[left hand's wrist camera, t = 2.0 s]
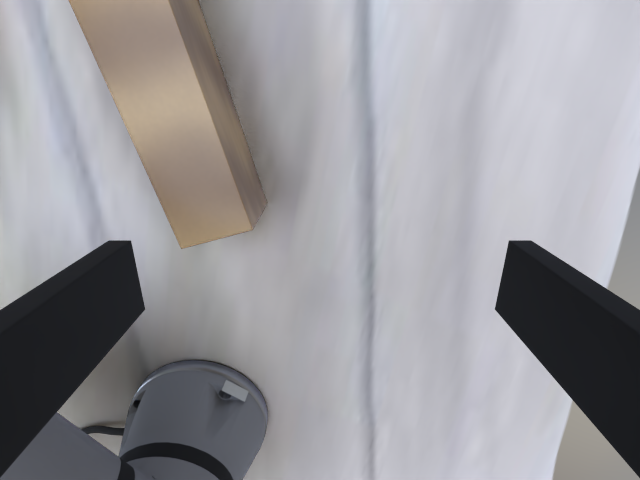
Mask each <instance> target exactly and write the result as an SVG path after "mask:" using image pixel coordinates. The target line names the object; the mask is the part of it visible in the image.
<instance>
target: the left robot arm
mask: <svg viewBox="0 0 640 480" xmlns="http://www.w3.org/2000/svg"><path fill="white" fill-rule="evenodd" d="M144 310H145V307H144V302H143V297H142V292H141V287H140V282H139V278H138V273H137V268H136V263H135V258H134V253H133V248H132V244H131V241H108V242H106V243H104V244H103V245H101V246H100V247H98V248H97V249H95V250H93V251H92V252H90V253H89V254H87V255H86V256H84V257H83V258H81V259H79V260H78V261H76V262H75V263H73V264H72V265H70V266H68V267H67V268H65V269H64V270H62V271H61V272H59V273H58V274H56V275H54V276H53V277H51V278H50V279H48V280H47V281H45V282H43V283H42V284H40V285H39V286H37V287H36V288H34V289H33V290H31V291H29V292H28V293H26V294H25V295H23V296H22V297H20V298H18V299H17V300H15V301H14V302H12V303H11V304H9V305H8V306H6V307H4V308H3V309H1V310H0V480H243V478H244V476H245V474H246V473H247V471H248V469H249V467H250V465H251V464H252V462H253V460H254V458H255V456H256V454H257V453H258V451H259V449H260V447H261V445H262V442H263V440H264V437H265V433H266V427H267V421H268V411H267V406H266V403H265V400H264V398H263V396H262V395H261V393H260V391H259V390H258V389H257V388H256V386H255V385H254V384H253V383H252V382H251V381H250V380H248V379H247V378H246V377H245V376H243V375H242V374H240V373H238V372H237V371H235V370H233V369H231V368H229V367H226V366H224V365H220V364H217V363H213V362H208V361H198V360H189V361H180V362H175V363H171V364H168V365H166V366H163V367H161V368H159V369H157V370H156V371H154V372H153V373H152V374H150V375H149V376H148V377H147V378H146V379H145V380H144V382H143V383H142V385H141V386H140V388H139V389H138V391H137V392H136V394H135V396H134V397H133V400H132V402H131V405H130V408H129V411H128V416H127V420H126V425H125V428H112V427H106V426H92V427H88V428H85V429H82V430H81V429H79V428H78V427H77V426H75V425H74V424H72V423H71V422H70V421H68V420H67V419H65V418H64V417H63V416H61V415H60V414H59V413H57V411H58V410H59V409H60V408H61V407H62V405H63V404H64V403H65V402H66V401H67V400H68V398H69V397H70V396H71V395H72V394H73V393H74V391H75V390H76V389H77V388H78V387H79V386H80V384H81V383H82V382H83V381H84V380H85V379H86V377H87V376H88V375H89V374H90V373H91V372H92V370H93V369H94V368H95V367H96V366H97V365H98V363H99V362H100V361H101V360H102V359H103V358H104V356H105V355H106V354H107V353H108V352H109V351H110V349H111V348H112V347H113V346H114V345H115V344H116V342H117V341H118V340H119V339H120V338H121V337H122V336H123V334H124V333H125V332H126V331H127V330H128V329H129V327H130V326H131V325H132V324H133V323H134V322H135V320H136V319H137V318H138V317H139V316H140V315H141V313H142V312H143V311H144ZM495 310H496V311H497V312H498V313H499V315H500V316H501V317H502V318H503V319H504V320H505V322H506V323H507V324H508V325H509V326H510V327H511V329H512V330H513V331H514V332H515V333H516V334H517V336H518V337H519V338H520V339H521V340H522V341H523V342H524V344H525V345H526V346H527V347H528V348H529V349H530V351H531V352H532V353H533V354H534V355H535V356H536V358H537V359H538V360H539V361H540V362H541V363H542V365H543V366H544V367H545V368H546V369H547V370H548V372H549V373H550V374H551V375H552V376H553V377H554V379H555V380H556V381H557V382H558V383H559V384H560V386H561V387H562V388H563V389H564V390H565V391H566V393H567V394H568V395H569V396H570V397H571V398H572V400H573V401H574V402H575V403H576V404H577V405H578V407H579V408H580V409H581V410H582V411H583V412H584V414H585V415H586V416H587V417H588V418H589V419H590V420H591V422H592V423H593V424H594V425H595V426H596V427H597V429H598V430H599V431H600V432H601V433H602V434H603V436H604V437H605V438H606V439H607V440H608V441H609V443H610V444H611V445H612V446H613V447H614V448H615V450H616V451H617V452H618V453H619V454H620V455H621V457H622V458H623V459H624V460H625V461H626V462H627V464H628V465H629V466H630V467H631V468H632V469H633V471H634V472H635V473H636V474H637V475H638V476H639V478H640V310H639V309H637V308H636V307H634V306H632V305H631V304H629V303H628V302H626V301H625V300H623V299H622V298H620V297H618V296H617V295H615V294H614V293H612V292H611V291H609V290H607V289H606V288H604V287H603V286H601V285H600V284H598V283H597V282H595V281H593V280H592V279H590V278H589V277H587V276H586V275H584V274H582V273H581V272H579V271H578V270H576V269H575V268H573V267H572V266H570V265H568V264H567V263H565V262H564V261H562V260H561V259H559V258H557V257H556V256H554V255H553V254H551V253H550V252H548V251H547V250H545V249H543V248H542V247H540V246H539V245H537V244H536V243H534V242H532V241H509V244H508V248H507V253H506V258H505V263H504V268H503V273H502V278H501V282H500V287H499V292H498V297H497V302H496V307H495ZM90 433H103V434H109V435H123V439H122V443H121V448H120V453H119V457H118V456H117V455H115V454H114V453H113V452H111V451H110V450H108V449H107V448H106V447H104V446H103V445H101V444H100V443H99V442H97V441H96V440H95V439H93V438H92V437H90V436H89V435H88V434H90Z"/></svg>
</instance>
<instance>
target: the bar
mask: <svg viewBox="0 0 640 480" xmlns="http://www.w3.org/2000/svg"><path fill="white" fill-rule="evenodd" d="M69 2H70V4H71V6H72V9H73V11H74V13H75V15H76V17H77V20H78V22H79V24H80V26H81V29H82V31H83V33H84V35H85V37H86V40H87V42H88V44H89V46H90V48H91V51H92V53H93V55H94V57H95V59H96V62H97V64H98V66H99V68H100V70H101V73H102V75H103V77H104V79H105V81H106V84H107V86H108V88H109V90H110V93H111V95H112V97H113V99H114V101H115V104H116V106H117V108H118V110H119V112H120V115H121V117H122V119H123V121H124V123H125V126H126V128H127V130H128V132H129V134H130V137H131V139H132V141H133V143H134V146H135V148H136V150H137V152H138V154H139V157H140V159H141V161H142V163H143V165H144V168H145V170H146V172H147V174H148V176H149V179H150V181H151V183H152V185H153V187H154V190H155V192H156V194H157V196H158V198H159V201H160V203H161V205H162V207H163V210H164V212H165V214H166V216H167V218H168V221H169V223H170V225H171V227H172V229H173V232H174V234H175V236H176V238H177V240H178V243H179V245H180V247H181V249H183V248H187V247H191V246H194V245H198V244H202V243H206V242H209V241H213V240H217V239H221V238H225V237H228V236H232V235H236V234H240V233H243V232H247V231H251V230H253V229H254V227H255V225H256V223H257V221H258V219H259V218H260V216H261V214H262V212H263V210H264V209H265V207H266V205H267V201H266V198H265V195H264V192H263V189H262V186H261V183H260V180H259V177H258V174H257V171H256V169H255V166H254V163H253V160H252V157H251V154H250V151H249V148H248V145H247V142H246V139H245V136H244V133H243V130H242V127H241V125H240V122H239V119H238V116H237V113H236V110H235V107H234V104H233V101H232V98H231V95H230V92H229V89H228V86H227V83H226V81H225V78H224V75H223V72H222V69H221V66H220V63H219V60H218V57H217V54H216V51H215V48H214V45H213V42H212V39H211V36H210V34H209V31H208V28H207V25H206V22H205V19H204V16H203V13H202V10H201V7H200V4H199V1H198V0H69Z"/></svg>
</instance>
